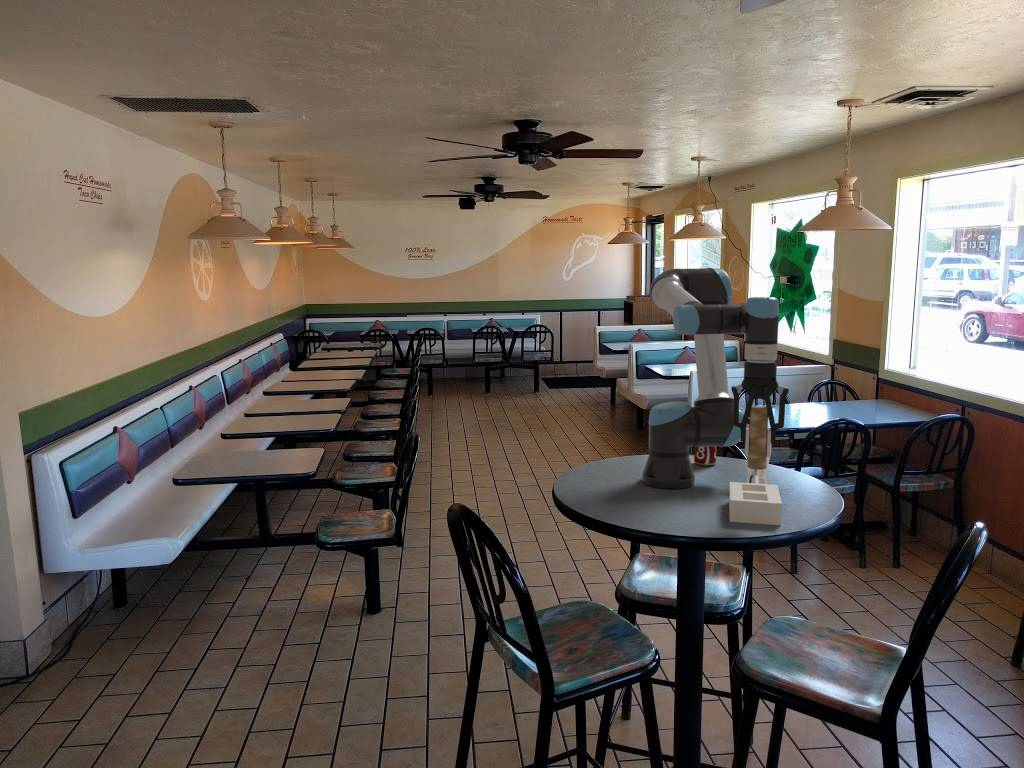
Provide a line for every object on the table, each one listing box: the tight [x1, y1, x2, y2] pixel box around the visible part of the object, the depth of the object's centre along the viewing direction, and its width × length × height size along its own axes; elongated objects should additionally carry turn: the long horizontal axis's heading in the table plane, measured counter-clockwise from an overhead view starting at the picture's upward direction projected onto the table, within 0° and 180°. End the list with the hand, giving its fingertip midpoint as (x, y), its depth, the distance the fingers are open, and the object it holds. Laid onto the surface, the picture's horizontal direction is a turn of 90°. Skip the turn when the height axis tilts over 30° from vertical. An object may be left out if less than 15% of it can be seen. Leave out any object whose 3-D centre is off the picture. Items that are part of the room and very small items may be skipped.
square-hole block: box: [728, 481, 783, 526], centre depth 192 cm, size 12×17×6 cm
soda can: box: [693, 446, 717, 467], centre depth 241 cm, size 7×7×12 cm
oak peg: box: [747, 405, 769, 470], centre depth 186 cm, size 4×4×15 cm
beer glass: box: [745, 444, 772, 484], centre depth 218 cm, size 7×7×15 cm
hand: (757, 455), depth 186 cm, fingers closed on oak peg, 4 cm apart
